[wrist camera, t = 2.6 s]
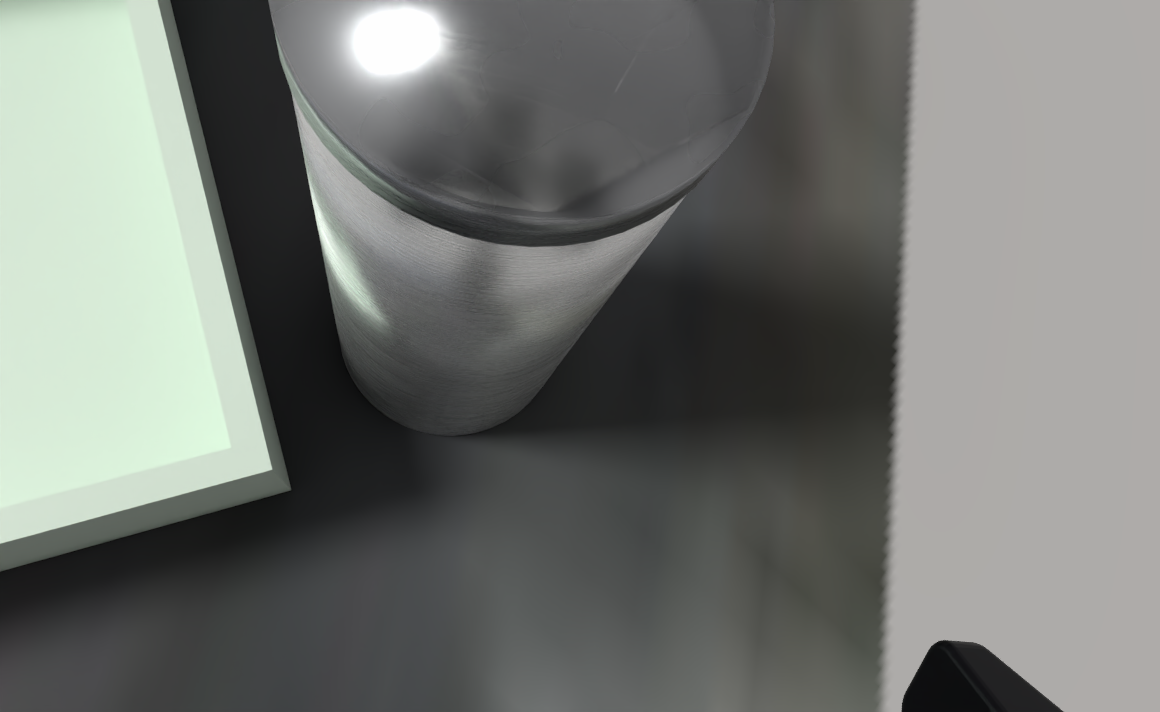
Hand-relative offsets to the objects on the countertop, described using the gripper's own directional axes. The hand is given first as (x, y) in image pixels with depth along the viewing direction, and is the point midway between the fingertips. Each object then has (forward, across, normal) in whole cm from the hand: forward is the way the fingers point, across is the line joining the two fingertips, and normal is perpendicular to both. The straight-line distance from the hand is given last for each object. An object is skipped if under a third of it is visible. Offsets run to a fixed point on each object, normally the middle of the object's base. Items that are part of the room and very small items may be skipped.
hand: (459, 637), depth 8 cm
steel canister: (+14, 0, +4) cm, 14 cm away
